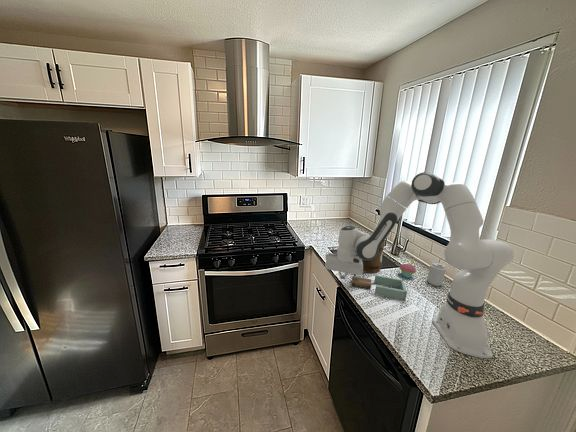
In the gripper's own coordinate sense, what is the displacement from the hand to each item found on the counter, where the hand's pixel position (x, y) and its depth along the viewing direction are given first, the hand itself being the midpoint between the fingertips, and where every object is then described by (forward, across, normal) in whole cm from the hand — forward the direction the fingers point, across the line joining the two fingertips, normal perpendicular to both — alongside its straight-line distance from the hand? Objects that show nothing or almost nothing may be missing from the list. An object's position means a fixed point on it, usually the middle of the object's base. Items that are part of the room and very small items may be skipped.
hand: (342, 278), depth 130 cm
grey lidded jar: (+2, +50, +18) cm, 53 cm away
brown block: (+2, +10, 0) cm, 10 cm away
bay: (+2, +24, 0) cm, 24 cm away
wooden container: (+2, +14, +23) cm, 27 cm away
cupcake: (+2, +36, +21) cm, 41 cm away
